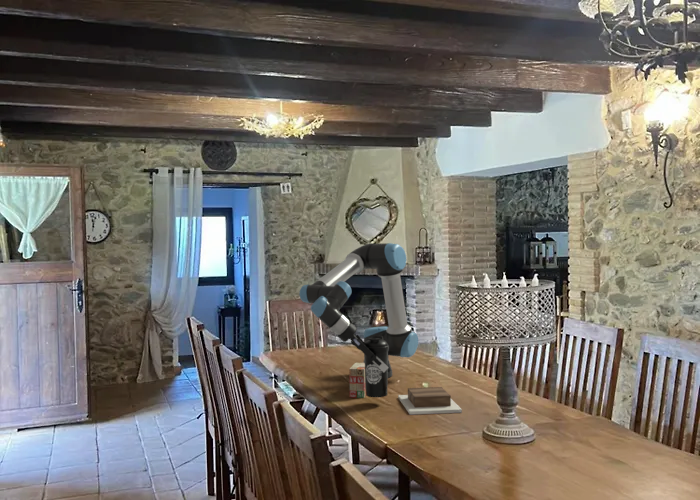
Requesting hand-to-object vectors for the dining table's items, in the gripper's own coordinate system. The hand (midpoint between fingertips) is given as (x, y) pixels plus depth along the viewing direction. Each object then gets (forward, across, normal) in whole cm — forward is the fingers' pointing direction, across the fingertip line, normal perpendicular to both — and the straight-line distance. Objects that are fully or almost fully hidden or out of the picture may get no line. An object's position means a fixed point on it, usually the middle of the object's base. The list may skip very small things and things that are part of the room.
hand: (384, 367), depth 252 cm
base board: (+23, +4, +2) cm, 23 cm away
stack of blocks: (+6, -21, -16) cm, 27 cm away
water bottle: (+6, 0, -10) cm, 12 cm away
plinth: (+22, +4, +2) cm, 22 cm away
